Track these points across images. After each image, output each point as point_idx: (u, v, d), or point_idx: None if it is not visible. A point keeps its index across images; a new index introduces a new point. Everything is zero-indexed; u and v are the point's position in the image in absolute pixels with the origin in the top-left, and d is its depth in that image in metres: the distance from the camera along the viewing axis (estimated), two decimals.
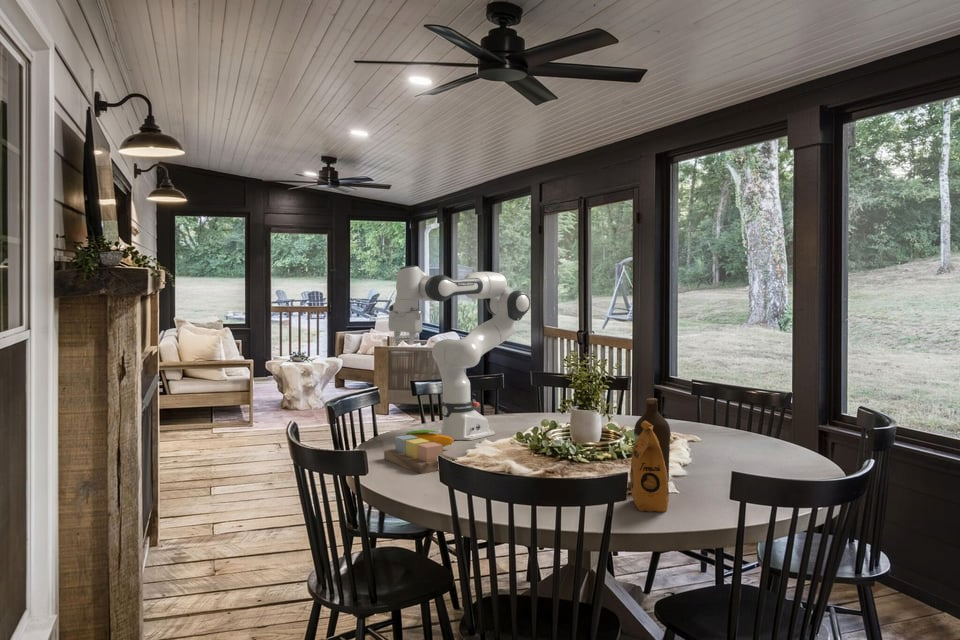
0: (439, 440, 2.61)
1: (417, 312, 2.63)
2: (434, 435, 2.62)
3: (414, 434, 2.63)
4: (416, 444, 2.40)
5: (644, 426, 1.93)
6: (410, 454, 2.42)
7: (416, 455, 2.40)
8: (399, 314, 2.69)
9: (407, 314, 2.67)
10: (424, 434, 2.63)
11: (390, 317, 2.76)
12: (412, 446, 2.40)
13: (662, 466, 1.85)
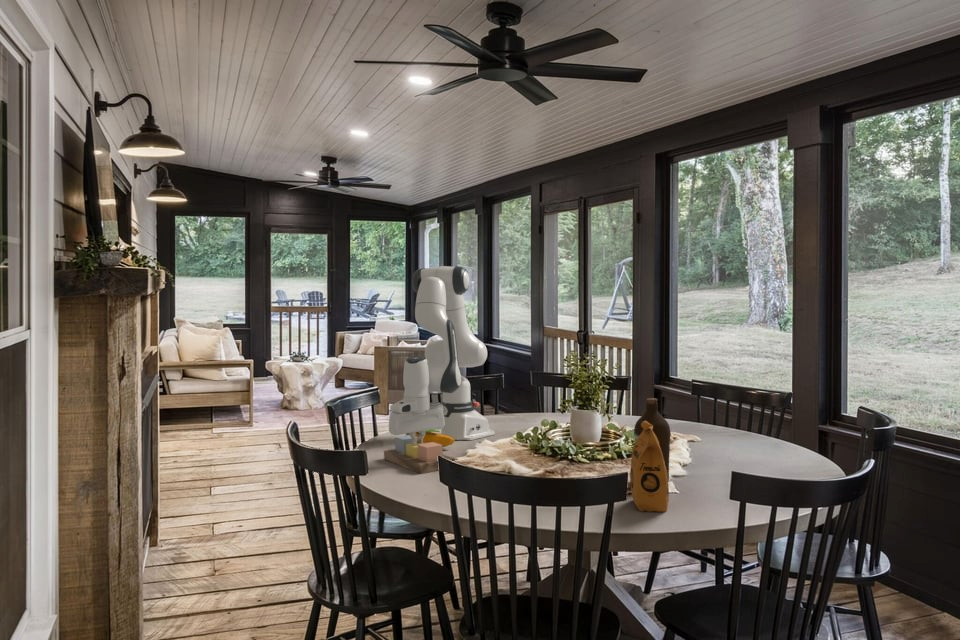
0: (439, 439, 2.62)
1: (440, 406, 2.48)
2: (435, 434, 2.63)
3: (416, 433, 2.65)
4: (416, 448, 2.40)
5: (644, 426, 1.93)
6: None
7: None
8: (422, 413, 2.40)
9: (430, 411, 2.44)
10: None
11: (399, 419, 2.36)
12: (413, 450, 2.40)
13: (662, 466, 1.85)
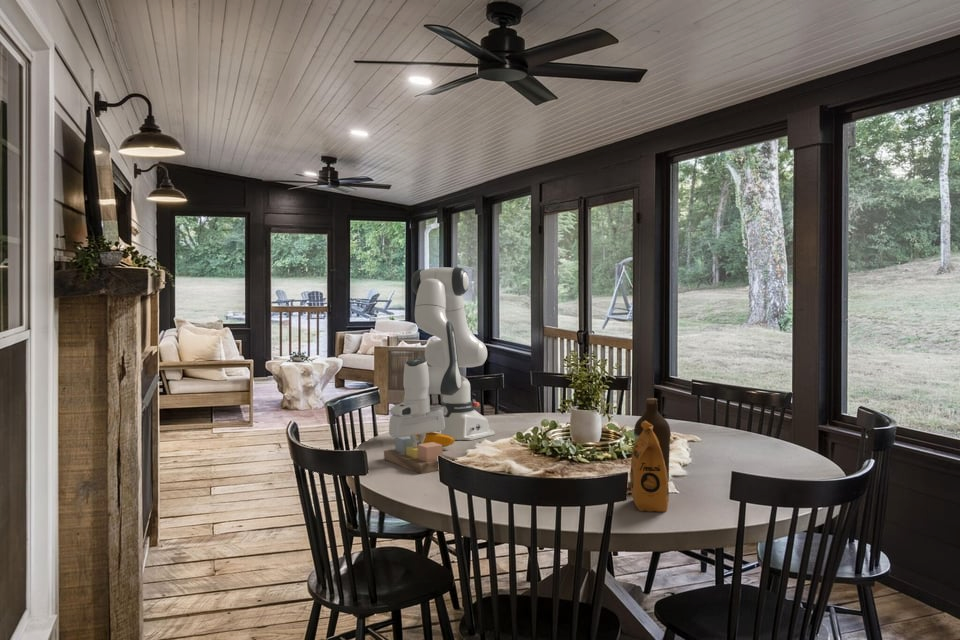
0: (439, 439, 2.62)
1: (440, 408, 2.48)
2: (435, 434, 2.63)
3: None
4: (416, 451, 2.40)
5: (644, 426, 1.93)
6: None
7: None
8: (423, 415, 2.41)
9: (430, 413, 2.44)
10: (426, 433, 2.64)
11: (399, 422, 2.37)
12: (413, 452, 2.40)
13: (662, 466, 1.85)
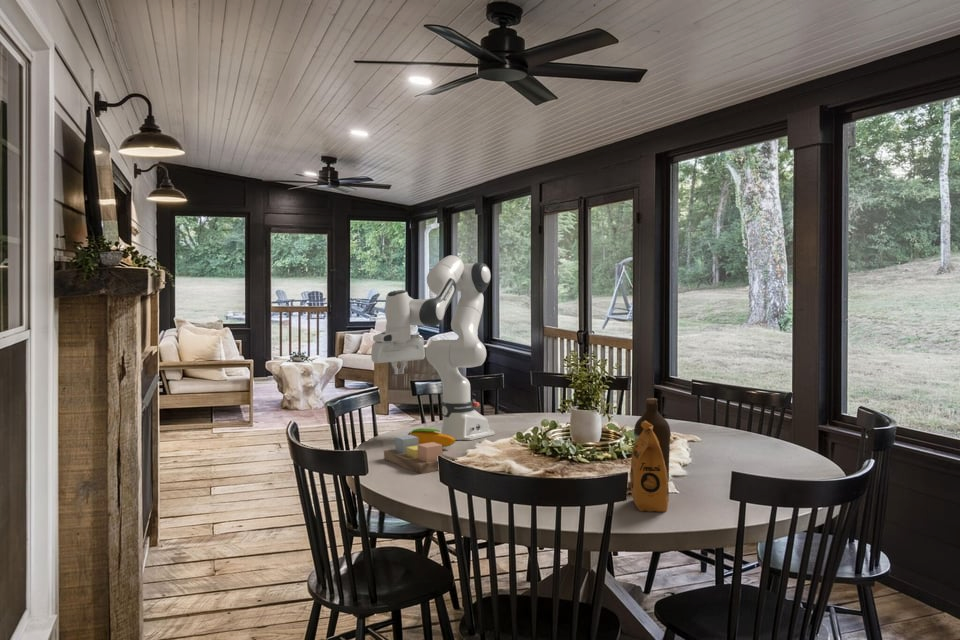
0: (440, 439, 2.62)
1: (421, 338, 2.61)
2: (436, 434, 2.64)
3: (418, 432, 2.66)
4: (416, 451, 2.40)
5: (644, 426, 1.93)
6: None
7: None
8: (403, 343, 2.54)
9: (411, 342, 2.57)
10: (427, 432, 2.65)
11: (380, 348, 2.50)
12: (413, 452, 2.40)
13: (662, 466, 1.85)
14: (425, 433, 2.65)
